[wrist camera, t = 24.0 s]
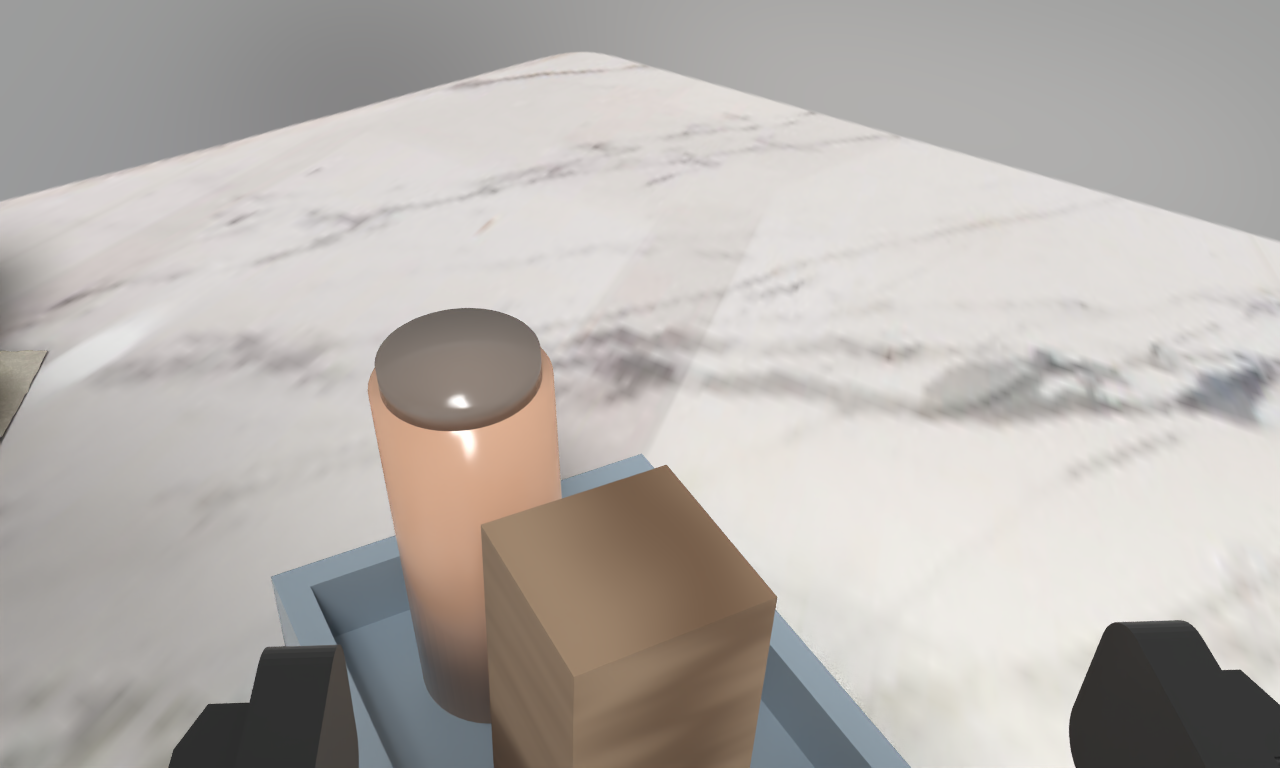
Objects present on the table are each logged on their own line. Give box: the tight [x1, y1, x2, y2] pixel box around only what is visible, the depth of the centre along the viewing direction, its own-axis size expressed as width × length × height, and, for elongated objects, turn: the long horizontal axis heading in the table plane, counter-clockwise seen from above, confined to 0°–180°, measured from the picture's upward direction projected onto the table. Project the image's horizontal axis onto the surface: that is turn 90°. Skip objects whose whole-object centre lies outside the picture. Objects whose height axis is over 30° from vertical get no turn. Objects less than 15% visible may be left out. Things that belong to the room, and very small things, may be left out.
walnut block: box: [481, 465, 777, 768], centre depth 30 cm, size 5×5×12 cm
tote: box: [271, 454, 911, 768], centre depth 36 cm, size 14×18×4 cm
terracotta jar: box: [368, 308, 562, 724], centre depth 35 cm, size 5×5×13 cm
